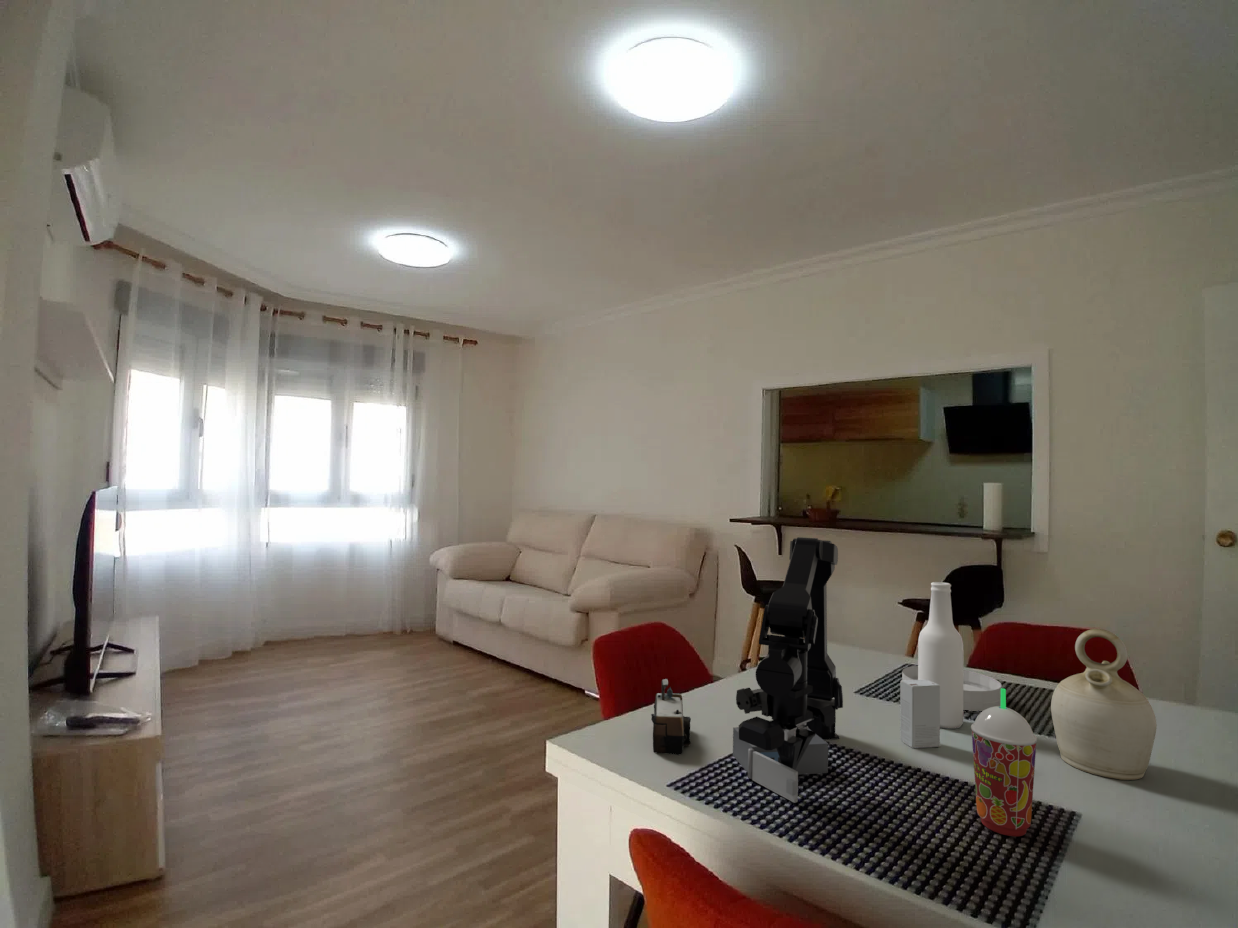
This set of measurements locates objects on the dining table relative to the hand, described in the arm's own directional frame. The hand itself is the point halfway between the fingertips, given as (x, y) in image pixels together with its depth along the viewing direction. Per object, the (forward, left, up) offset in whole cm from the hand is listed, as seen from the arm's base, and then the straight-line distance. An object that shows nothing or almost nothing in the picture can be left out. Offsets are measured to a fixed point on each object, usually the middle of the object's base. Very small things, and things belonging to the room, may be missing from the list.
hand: (788, 775), depth 101 cm
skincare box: (-35, -16, -3) cm, 39 cm away
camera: (+13, -24, -3) cm, 27 cm away
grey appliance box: (-3, -11, -3) cm, 12 cm away
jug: (-63, -3, -3) cm, 64 cm away
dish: (-63, -43, -3) cm, 77 cm away
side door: (+3, -1, -3) cm, 4 cm away
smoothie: (-27, +14, -3) cm, 31 cm away
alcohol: (-48, -27, -3) cm, 56 cm away
